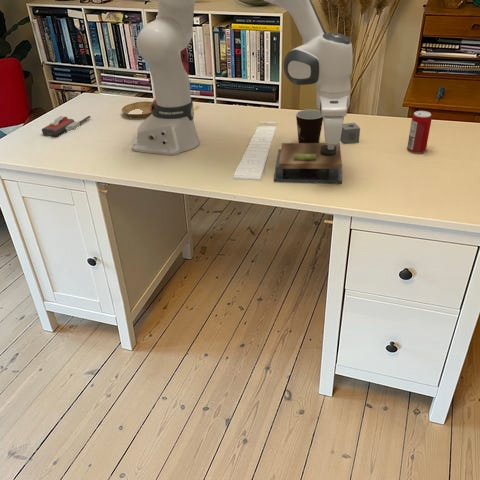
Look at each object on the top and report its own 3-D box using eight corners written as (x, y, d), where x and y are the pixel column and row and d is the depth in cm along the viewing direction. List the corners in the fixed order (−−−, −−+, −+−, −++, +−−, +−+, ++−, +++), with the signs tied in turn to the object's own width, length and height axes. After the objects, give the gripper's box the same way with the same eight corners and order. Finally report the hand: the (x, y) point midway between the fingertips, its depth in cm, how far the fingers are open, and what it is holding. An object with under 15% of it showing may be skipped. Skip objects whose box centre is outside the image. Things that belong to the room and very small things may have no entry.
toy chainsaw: (60, 140, 171) (93, 120, 187) (57, 128, 169) (90, 109, 184) (39, 138, 174) (73, 118, 189) (36, 126, 172) (71, 107, 187)
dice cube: (358, 143, 159) (360, 128, 157) (343, 144, 159) (345, 129, 156) (353, 137, 163) (354, 122, 161) (338, 138, 163) (339, 124, 160)
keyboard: (257, 123, 178) (257, 119, 177) (279, 124, 177) (279, 119, 176) (233, 180, 142) (233, 176, 141) (260, 182, 140) (260, 177, 140)
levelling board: (279, 168, 137) (278, 158, 135) (282, 147, 148) (281, 138, 147) (341, 168, 135) (342, 158, 133) (339, 147, 146) (340, 137, 144)
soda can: (429, 150, 152) (436, 113, 146) (418, 155, 150) (425, 117, 143) (414, 145, 156) (420, 108, 149) (403, 150, 153) (409, 112, 147)
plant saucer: (123, 123, 183) (122, 116, 181) (121, 110, 194) (120, 103, 193) (163, 118, 185) (162, 111, 184) (159, 106, 197) (158, 99, 196)
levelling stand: (273, 182, 139) (273, 169, 137) (277, 159, 151) (277, 147, 149) (342, 183, 137) (343, 170, 134) (340, 160, 149) (341, 148, 147)
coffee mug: (321, 150, 156) (322, 119, 150) (293, 148, 157) (294, 118, 152) (323, 135, 165) (325, 106, 159) (297, 134, 167) (298, 105, 161)
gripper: (320, 87, 140) (319, 133, 148) (321, 112, 123) (319, 162, 131) (343, 87, 139) (340, 133, 147) (347, 112, 123) (343, 163, 130)
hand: (330, 147), depth 139 cm, fingers closed, pressing on levelling board
